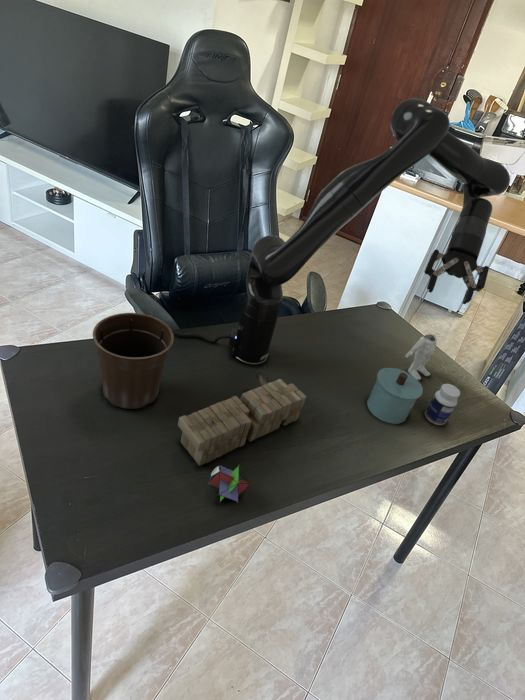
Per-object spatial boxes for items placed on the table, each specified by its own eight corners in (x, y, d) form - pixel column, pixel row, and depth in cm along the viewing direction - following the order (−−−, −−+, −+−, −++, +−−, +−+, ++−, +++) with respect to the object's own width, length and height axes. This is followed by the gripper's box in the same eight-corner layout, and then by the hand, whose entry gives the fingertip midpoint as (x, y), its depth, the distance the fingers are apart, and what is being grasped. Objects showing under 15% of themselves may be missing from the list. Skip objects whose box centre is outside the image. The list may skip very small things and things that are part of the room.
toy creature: (411, 384, 136) (428, 350, 129) (395, 371, 139) (411, 337, 133) (436, 374, 143) (454, 341, 136) (420, 361, 146) (437, 329, 139)
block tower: (276, 402, 118) (172, 443, 100) (285, 376, 114) (178, 414, 96) (297, 423, 114) (193, 470, 96) (307, 397, 109) (200, 440, 91)
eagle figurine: (287, 390, 120) (255, 372, 120) (293, 383, 113) (259, 364, 114) (273, 417, 118) (240, 399, 118) (278, 411, 111) (244, 392, 111)
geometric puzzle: (255, 476, 95) (237, 451, 91) (255, 505, 90) (236, 480, 86) (223, 486, 97) (203, 462, 93) (221, 516, 92) (200, 491, 87)
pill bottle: (420, 409, 128) (436, 380, 122) (440, 411, 129) (457, 383, 123) (428, 425, 123) (445, 396, 117) (448, 427, 124) (466, 398, 118)
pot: (368, 420, 120) (384, 385, 113) (362, 390, 129) (377, 356, 122) (412, 429, 120) (431, 395, 114) (404, 398, 130) (421, 365, 123)
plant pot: (89, 416, 101) (89, 356, 92) (94, 367, 114) (95, 309, 105) (167, 417, 106) (175, 360, 97) (164, 369, 118) (171, 314, 109)
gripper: (443, 223, 118) (423, 282, 116) (501, 241, 116) (482, 302, 114) (435, 236, 126) (415, 292, 123) (489, 254, 124) (470, 311, 121)
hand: (447, 297), depth 118 cm, fingers open, 8 cm apart
